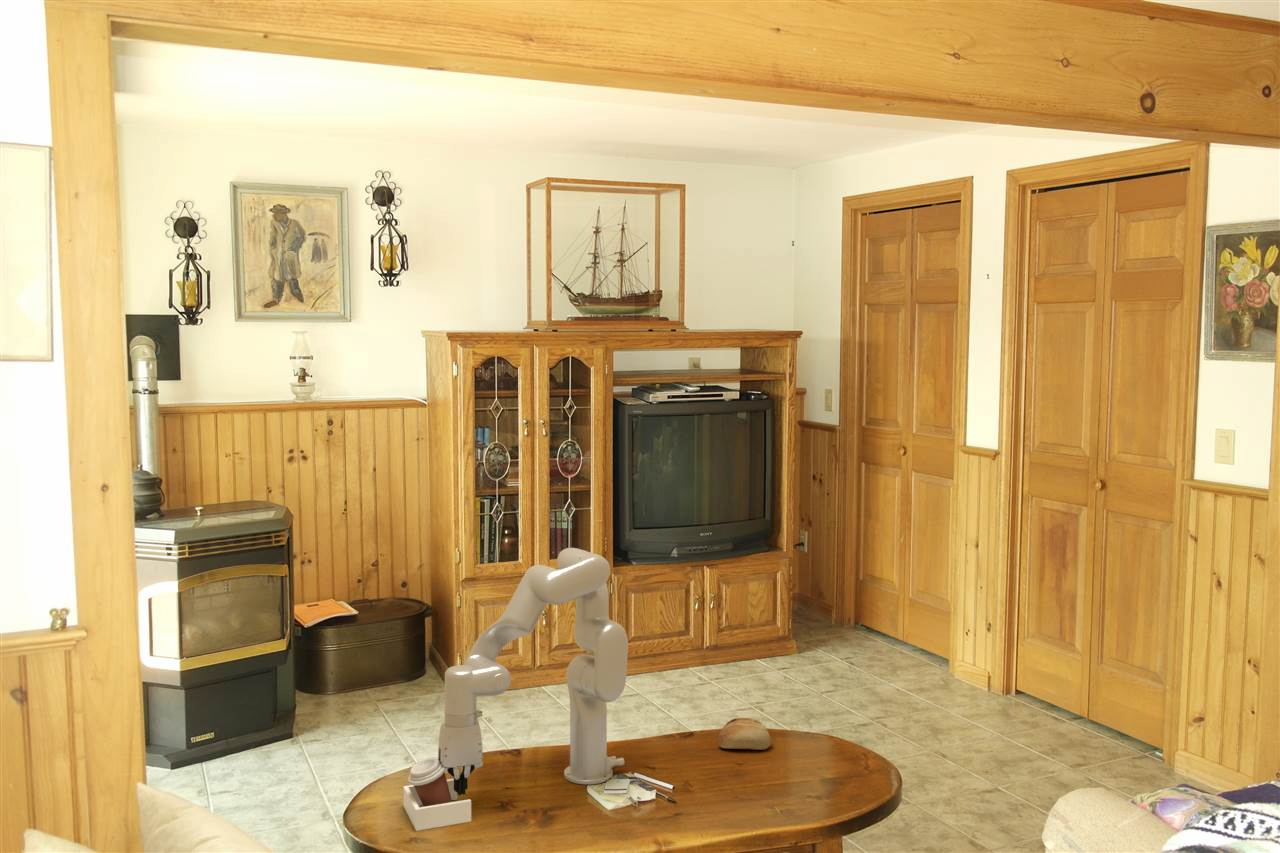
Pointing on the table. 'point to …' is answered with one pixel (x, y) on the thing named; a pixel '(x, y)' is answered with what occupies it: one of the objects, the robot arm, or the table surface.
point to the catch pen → (435, 810)
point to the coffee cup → (430, 782)
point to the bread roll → (744, 735)
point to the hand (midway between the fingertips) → (460, 792)
